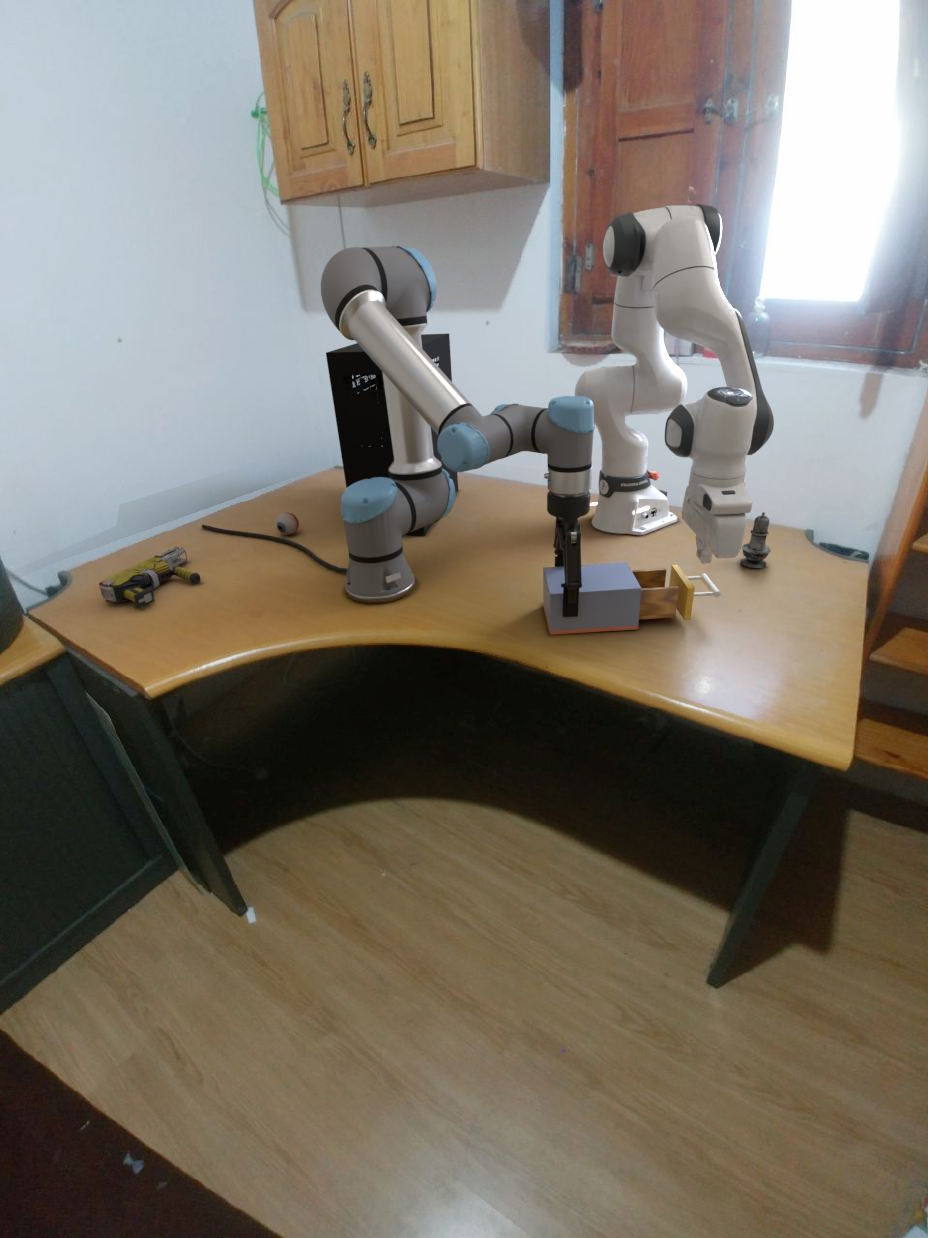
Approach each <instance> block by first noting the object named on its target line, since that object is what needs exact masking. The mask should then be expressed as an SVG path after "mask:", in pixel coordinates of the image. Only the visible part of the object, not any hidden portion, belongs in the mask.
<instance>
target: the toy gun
mask: <svg viewBox="0 0 928 1238" xmlns="http://www.w3.org/2000/svg"><path fill="white" fill-rule="evenodd" d="M184 554H185V558H181V556H182V555H184ZM187 562H188V554H187V550H186V549H185V548H184V547H179V546H175V547H173V548H171V549H168V550H167V551H164V552H162V553H161V554H159V555H157V554H155V555H154V556H152V557H150V558H147V559H145V560H142V561H141V562H139V563H137V564H135V565H132V566H129V568H127V569H124V570H122V571H120V572H118V573H116V574H113V575H111V576H109V577H107V578H105V579H103V580H101V581H99V583H98V586H99V589H100V593H101V597H102V599H103V600H105V602H106V603H110V604H112V603H114V602H115V603H123V602H126V601H132V602H134V604H135V606H136V609H141V608H143V607H145V606H148V605H150V604H153V603H154V602H155V596H154V592H153V590H155V589H157V588H158V587H160V583H161V582H164V581H166V580H169V579H172V577H173V576H175V577H178V578H179V579H182V580H185V581H187V582H190V583H192V585H195V584H198V583H200V581H201V575H200V574H199V573H198V572H194V571H191V570H189V569H186V568H184V567H181V565H182V564H184V563H187Z"/></svg>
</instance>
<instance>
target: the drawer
mask: <svg viewBox="0 0 928 1238" xmlns="http://www.w3.org/2000/svg"><path fill="white" fill-rule="evenodd" d="M631 571H632V572H633V574H634V576H635V578H636V580H637V581H638V583H639V585H640V587H641V599H640V611H639V620H652V619H653V620H654V619H667V618H669V619H670V618H676V614H677V612H678V613H679V615H680V617H681V618H682V620H683V621H691V619H692V618H691V617H692V610H693V603H694V598H695V597H697V598H699V597H711V596H712V597H713V598H715V599H716V598H720V597H721V595H722V592H721V591H720V590H719V588H717V586H716V585H715V583H714V582H713V581H712V580H711V578H710V577H709V576H708V574H707V573H704V572H703V573H700V574H699V575H691V576H687V575H686V574H685V572H684V571H683V570H682V568H681V567H680V565H679V564H671V567H670V574H669V575H670V576H669V584H668V585H669V586H666V578H667V568H666V567H661V568H647V569H633V570H632V569H631ZM699 580H700V581H701V582H702V583H703V584H704V586H705V587H706V588H707V590H708V591H700V592H699V591H698V592H695V589H696V588H695V586H694V585H693V584H692V582H691V581H699Z"/></svg>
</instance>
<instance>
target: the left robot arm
mask: <svg viewBox="0 0 928 1238" xmlns="http://www.w3.org/2000/svg"><path fill="white" fill-rule="evenodd" d="M431 265H432V264H430V262H429V261H428V259H427V258H426V257H425V256H424V255H423V253H421V252H420V251H419V250H418V249H415V248H413V247H410V246H409V247H408V246H400V245H391V246H370V247H369V246H368V247H363V246H362V247H358V246H351V247H347V248H343V249H341V250H339V251H338V252H336V253H335V254H334V255H332V257H330V259H329V260H328V261H327V263H326V264H325V266H324V269H323V272H322V274H321V278H320V279H321V280H320V296H321V300H322V304H323V308H324V310H325V312H326V315H327V316H328V318H329V320H330V321H331V323H332V324H333V326H334V327H335V328H336V329H337V331H339V333H340V334H341V336H343V337H344V338H345V339H347V340H348V341H355V343H358V344H359V345H360V346H361V348H362V349H363V350H364V351H365V352H366V353H367V354H368V356H369V357H370V358H371V359H372V360H373V361H374V363H375V364H376V365H377V366H378V367H379V368H380V369H381V371H382V374H383V381H384V389H385V396H386V403H387V411H388V418H389V425H390V433H391V440H392V447H393V454H394V461H393V463H392V464H391V465H390V467H389V468H388V469H389V477H390V479H389V478H385V477H374V478H371V479H364V480H361V481H358V482H356V483H354V484H352V485H350V486H349V487H347V488H345V489H344V490H343V491H342V493H341V497H340V507H341V508H340V509H341V511H340V514H341V515H340V516H341V518H342V521H343V528H344V533H345V540H346V544H347V551H348V558H349V559H348V560H349V561H348V564H347V565H348V566H347V568H345V567H339V566H336V565H334V564H331V563H329V562H327V561H325V560H323V559H322V558H320V557H319V556H317V555H316V554H315V553H314V552H312V551H311V550H310V549H309V548H307V547H305V546H304V545H301V544H300V543H297V542H295V541H292V540H290V539H286V538H283V537H280V536H274V535H269V534H263V533H257V532H256V533H255V532H248V531H242V530H233V529H226V528H219V527H216V526H215V527H214V526H210V525H206V524H201V528H202V529H205V530H209V531H213V532H218V533H222V534H228V535H229V534H230V535H237V536H245V537H253V538H259V539H260V538H261V539H266V540H271V541H276V542H280V543H283V544H286V545H290V546H293V547H295V548H297V549H300V550H301V551H303V552H304V553H306V554H307V555H309V556H310V557H311V558H312V559H313V560H314V561H316V562H317V563H319V564H321V565H322V566H323V567H326V568H328V569H330V570H333V571H335V572H339V573H345V574H346V577H345V581H344V582H345V583H344V586H345V592H346V595H347V596H348V598H350V599H351V600H353V601H355V602H359V603H363V604H384V603H385V604H386V603H390V602H393V601H397V600H400V599H402V598H404V597H406V596H409V594H410V593H411V592H412V591H413V590H414V589H415V586H416V580H415V575H414V573H413V570H412V569H411V566H410V564H409V561H408V560H407V557H406V556H405V553H404V547H403V536H406V535H405V534H407V533H410V532H412V531H414V530H417V529H419V528H422V527H424V526H427V525H429V524H433V523H434V524H436V523H438V522H439V521H440V520H442V519H444V518H445V517H447V516H448V515H449V514H450V512H452V510H453V508H454V505H455V503H456V502H455V501H456V494H455V486H454V483H453V480H452V479H450V478H449V477H450V475H449V474H448V472H447V471H446V470H444V469H443V468H442V464H441V462H440V461H439V460H438V459H437V458H435V457H434V454H433V445H432V436H431V428H432V429H433V430H434V431H435V432H436V433H437V435H438V436H439V438H438V444H437V445H438V452H439V454H440V455H441V457H442V459H441V460H442V462H443V463H444V464H445V466H446V467H448V468H449V469H450V470H452V471H455V472H457V473H464V472H469V471H473V470H478V469H480V468H483V466H486V465H488V464H491V463H493V462H496V461H498V460H503V459H506V458H508V457H512V456H514V455H516V454H519V453H522V452H528V453H529V452H530V453H535V454H542V455H547V462H546V463H547V471H548V472H545V473H543V479H545V480H547V490H548V492H547V493H546V511H547V514H549V515H550V516H552V517H554V518H555V523H554V524H555V526H554V537H553V544H552V547H553V549H554V552H553V553H554V555H555V556H554V567H558V566H564V575H565V583H562V584H561V587H563V617H578V603H579V588H581V587H582V581H581V565H582V545H581V544H582V535H583V534H582V531H581V530H582V529H581V524H580V523H579V518H581V517H584V516H586V515H588V514H589V513H590V509H591V506H590V503H591V492H590V490H591V489H592V480H593V479H592V478H593V476H592V475H593V463H592V462H593V444H594V434H595V433H594V431H595V427H596V425H595V424H594V404H593V402H592V400H590V399H589V398H587V397H583V396H575V395H562V396H557V397H553V398H552V399H550V401H549V402H548V404H547V407H539V406H531V405H525V404H520V403H501V404H499V405H496V407H495V408H494V409H493V411H491V412H490V413H489V414H486V415H482V414H481V412H480V411H479V410H478V409H477V408H476V407H475V406H474V405H473V404H472V403H471V402H470V401H469V400H468V398H467V397H466V396H465V394H464V393H462V392H461V391H460V389H459V388H458V387H457V386H456V385H455V384H454V383H453V381H452V382H451V381H450V379H449V378H448V377H447V376H446V375H445V374H444V373H443V372H442V370H441V369H440V368H439V367H438V364H435V363H434V361H433V360H434V359H431V358H430V357H429V356H428V355H427V354H426V353H425V351H424V350H423V349H422V341H421V335H422V334H423V332H424V331H425V329H426V327H427V326H428V316H427V313H428V312H430V311H431V310H432V308H434V307H433V306H434V302H435V301H436V299H437V291H438V290H437V289H438V288H437V280H436V276H435V272H434V270H433V267H432V266H431ZM434 524H433V525H434Z"/></svg>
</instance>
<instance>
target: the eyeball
mask: <svg viewBox="0 0 928 1238" xmlns="http://www.w3.org/2000/svg"><path fill="white" fill-rule="evenodd" d="M299 525H300V522H299V519H298V517H297V516H296V515H295V514H294V513H292V512H287V511H286V512H282V513H280V514H279V515H278V516H277V517H276V520H275V527H276V529H277V530H278V531H279V532H280V533H281V534H282V535H285V536H286V535H287V536H289V535H293V534H295V533H296V532H297V531H298V529H299Z"/></svg>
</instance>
